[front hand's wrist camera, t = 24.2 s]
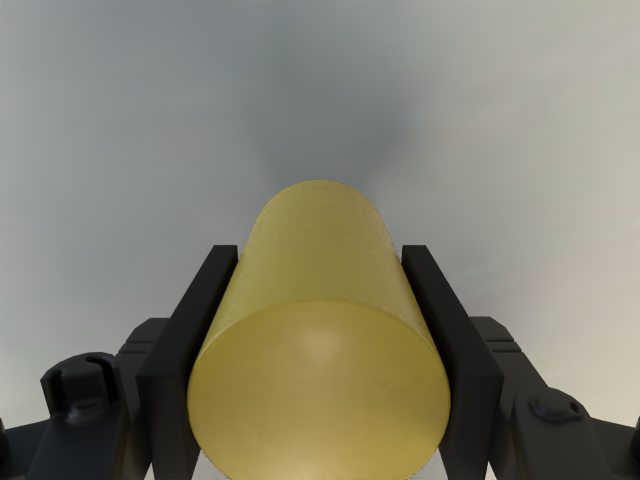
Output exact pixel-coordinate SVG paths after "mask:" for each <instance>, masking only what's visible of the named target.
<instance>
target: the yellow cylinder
mask: <svg viewBox="0 0 640 480" xmlns="http://www.w3.org/2000/svg"><path fill="white" fill-rule="evenodd" d="M450 408H451V390H450V385H449V380H448V376H447V373H446V371H445V368H444V365H443V363H442V361H441V358H440V356H439V353H438V351H437V349H436V346H435V344H434V341H433V339H432V337H431V334H430V332H429V330H428V327H427V325H426V322H425V320H424V318H423V315H422V313H421V310H420V308H419V306H418V303H417V301H416V299H415V296H414V294H413V291H412V289H411V287H410V284H409V282H408V279H407V277H406V275H405V272H404V270H403V268H402V265H401V263H400V260H399V258H398V256H397V253H396V251H395V249H394V246H393V244H392V241H391V239H390V237H389V234H388V232H387V229H386V227H385V225H384V222H383V220H382V218H381V216H380V214H379V212H378V210H377V209H376V208H375V206H374V205H373V204H372V203H371V202H370V201H369V200H368V199H367V198H366V197H365V196H364V195H363V194H361V193H360V192H359V191H357V190H355V189H353V188H352V187H350V186H347V185H345V184H342V183H338V182H335V181H328V180H310V181H304V182H300V183H296V184H294V185H292V186H289V187H287V188H285V189H283V190H282V191H280V192H279V193H277V194H276V195H275V196H273V197H272V198H271V199H270V200H269V201H268V202H267V203H266V205H265V206H264V207H263V209H262V210H261V212H260V214H259V215H258V217H257V219H256V222H255V224H254V226H253V229H252V231H251V233H250V236H249V238H248V240H247V243H246V245H245V247H244V250H243V252H242V254H241V257H240V259H239V261H238V264H237V266H236V268H235V271H234V273H233V275H232V277H231V280H230V282H229V284H228V287H227V289H226V291H225V294H224V296H223V298H222V301H221V303H220V305H219V308H218V310H217V312H216V315H215V317H214V319H213V322H212V324H211V326H210V329H209V331H208V333H207V336H206V338H205V340H204V343H203V345H202V347H201V350H200V352H199V354H198V357H197V359H196V361H195V364H194V366H193V369H192V372H191V374H190V377H189V382H188V387H187V410H188V417H189V423H190V426H191V429H192V432H193V435H194V437H195V439H196V441H197V443H198V445H199V447H200V448H201V449H202V451H203V452H204V454H205V455H206V457H207V458H208V459H209V460H210V461H211V462H212V464H213V465H214V466H215V467H216V468H217V469H218V470H220V471H221V472H222V473H223V474H224V475H225V476H227V477H228V478H229V479H231V480H407V479H408V478H410V477H411V476H412V475H413V474H415V473H416V472H417V471H418V470H419V469H420V468H422V466H423V465H424V464H425V463H426V462H427V461H428V460H429V459H430V458H431V456H432V455H433V453H434V452H435V450H436V449H437V447H438V446H439V444H440V442H441V440H442V438H443V436H444V434H445V431H446V427H447V424H448V421H449V415H450Z"/></svg>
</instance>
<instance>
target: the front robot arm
mask: <svg viewBox="0 0 640 480" xmlns="http://www.w3.org/2000/svg"><path fill="white" fill-rule="evenodd" d="M237 264H238V251H237V245H214V246H213V248H212V250H211V251H210V253H209V255H208V256H207V258H206V260H205V261H204V263H203V265H202V266H201V268H200V269H199V271H198V273H197V274H196V276H195V278H194V279H193V281H192V283H191V284H190V286H189V288H188V289H187V291H186V293H185V294H184V296H183V298H182V299H181V301H180V303H179V304H178V306H177V307H176V309H175V311H174V312H173V314H172V316H171V317H170V318H149V319H148V320H146V321H145V322H144V323H142V324H141V325H139V326H138V327H136V328H135V329H134V330H133V332H132V333H131V335H130V336H129V337H128V339H127V340H126V344H123V346H122V347H121V349H120V350H119V351H118V352H119V353H118V354H116V355H115V357H114V356H113V355H112V354H108V353H104V352H90V353H84V354H80V355H76V356H73V357H70V358H68V359H66V360H64V361H61V362H59V363H58V364H56V365H55V366H53V367H52V368H51V369H49V370H48V371H47V372H46V373H45V374H44V376H43V377H42V378H41V379H40V382H41V385H42V389H43V392H44V396H45V399H46V402H47V406H48V409H49V413H50V418H49V419H47V420H44V421H41V422H37V423H32V424H28V425H23V426H19V427H15V428H10V429H6V430H5V428H4V426H3V423H2V420H1V418H0V480H144V478H145V476H146V473H147V471H148V469H149V466H150V464H151V462H152V467H153V472H154V478H155V480H191V479H192V476H193V472H194V469H195V466H196V463H197V460H198V457H199V453H200V450H201V448H200V447H199V445H198V443H197V441H196V439H195V437H194V435H193V432H192V429H191V426H190V423H189V417H188V410H187V387H188V382H189V377H190V374H191V372H192V369H193V366H194V364H195V361H196V359H197V357H198V354H199V352H200V350H201V347H202V345H203V343H204V340H205V338H206V336H207V333H208V331H209V329H210V326H211V324H212V322H213V319H214V317H215V315H216V312H217V310H218V308H219V305H220V303H221V301H222V298H223V296H224V294H225V291H226V289H227V287H228V284H229V282H230V280H231V277H232V275H233V273H234V271H235V268H236V266H237ZM401 265H402V268H403V270H404V272H405V275H406V277H407V279H408V282H409V284H410V287H411V289H412V291H413V294H414V296H415V299H416V301H417V303H418V306H419V308H420V310H421V313H422V315H423V318H424V320H425V322H426V325H427V327H428V330H429V332H430V334H431V337H432V339H433V341H434V344H435V346H436V349H437V351H438V353H439V356H440V358H441V361H442V363H443V365H444V368H445V371H446V373H447V376H448V380H449V385H450V390H451V408H450V415H449V421H448V424H447V427H446V431H445V434H444V436H443V438H442V440H441V442H440V444H439V446H438V448H439V451H440V454H441V457H442V461H443V464H444V467H445V470H446V473H447V477H448V480H485V476H486V471H487V466H488V461H489V463H490V465H491V467H492V470H493V472H494V474H495V477H496V479H497V480H640V417H639V419H638V422H637V424H636V427H635V428H634V427H629V426H625V425H620V424H616V423H611V422H607V421H602V420H599V419H595V418H592V417H590V415H589V414H588V412H587V411H586V409H585V408H584V406H583V405H582V404H580V403H579V402H578V401H577V400H576V399H574V398H573V397H572V396H570V395H568V394H566V393H564V392H562V391H560V390H557V389H554V388H550V387H548V386H547V384H546V383H545V382H544V380H543V379H542V378H541V376H540V375H539V373H538V372H537V371H536V369H535V368H534V366H533V365H532V364H531V362H530V361H529V360H528V358H527V357H526V355H525V354H524V353H522V350H521V348H520V347H519V346H518V344H517V343H516V342H514V339H513V337H512V336H511V335H510V333H509V332H508V330H507V329H506V328H505V327H504V326H503V325H501V324H500V323H498V322H497V321H495V320H494V319H493V318H491V317H469V316H468V315H467V313H466V311H465V310H464V308H463V306H462V305H461V303H460V301H459V300H458V298H457V296H456V295H455V293H454V291H453V290H452V288H451V286H450V285H449V283H448V282H447V280H446V278H445V277H444V275H443V273H442V272H441V270H440V268H439V267H438V265H437V263H436V262H435V260H434V258H433V257H432V255H431V253H430V252H429V250H428V248H427V247H426V245H403V247H402V261H401Z"/></svg>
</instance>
